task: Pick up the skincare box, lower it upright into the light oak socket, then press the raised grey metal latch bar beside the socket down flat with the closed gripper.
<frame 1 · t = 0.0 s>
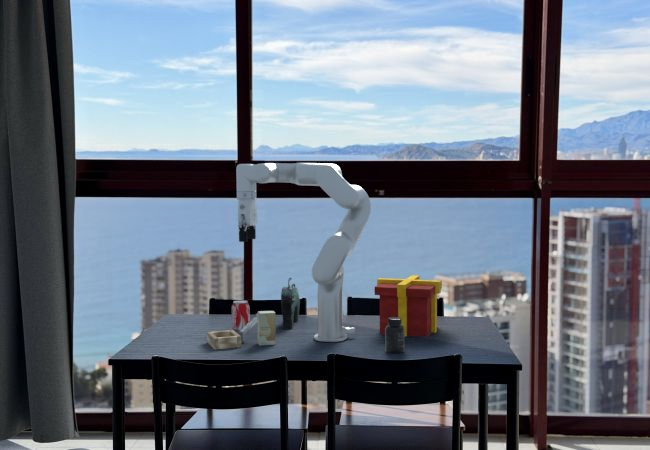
hand: (247, 240, 332), 37 cm above the table, tool pointing down, fingers open, 9 cm apart
skincare box: (266, 344, 320), on the table
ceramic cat: (290, 325, 354), on the table
supplement bottle: (394, 352, 306), on the table
gift box: (408, 331, 341), on the table
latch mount: (238, 341, 325), on the table
socket: (224, 344, 319), on the table
soda can: (241, 331, 343), on the table
latch bar: (250, 325, 326), point 6 cm above the table, hinge at 40.0°
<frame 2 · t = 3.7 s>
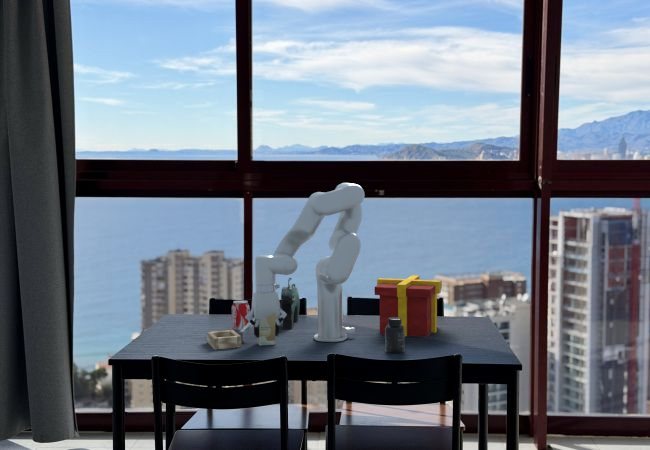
hand: (266, 335, 319), 3 cm above the table, tool pointing down, fingers closed on skincare box, 6 cm apart
skincare box: (266, 344, 320), on the table, touching gripper
everything else where it was.
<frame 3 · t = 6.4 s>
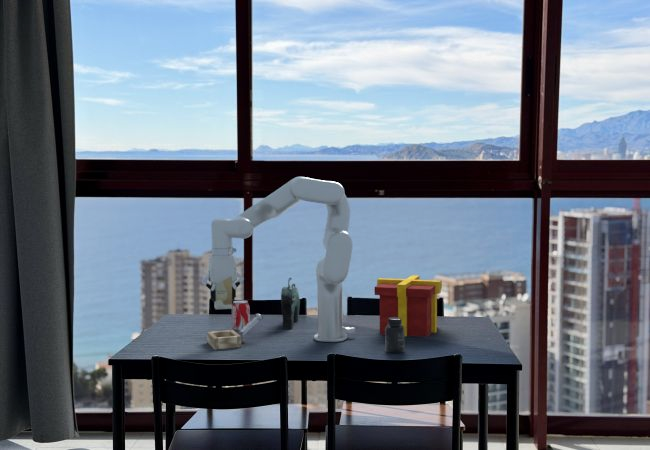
hand: (223, 299, 318), 17 cm above the table, tool pointing down, fingers closed on skincare box, 6 cm apart
skincare box: (223, 308, 318), point 14 cm above the table, touching gripper
everything else where it was.
when the fingers open (5 cm above the table, at t = 9.3 s): skincare box drops 2 cm, resting in socket.
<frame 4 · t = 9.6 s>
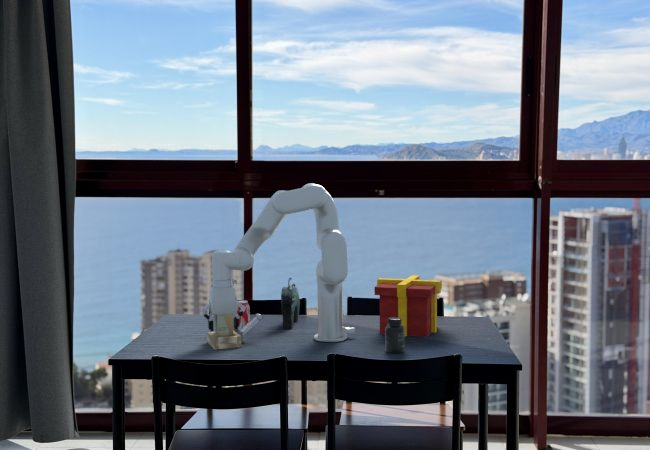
hand: (223, 329, 319), 6 cm above the table, tool pointing down, fingers open, 8 cm apart
skincare box: (224, 345, 319), resting in socket
everything else where it was.
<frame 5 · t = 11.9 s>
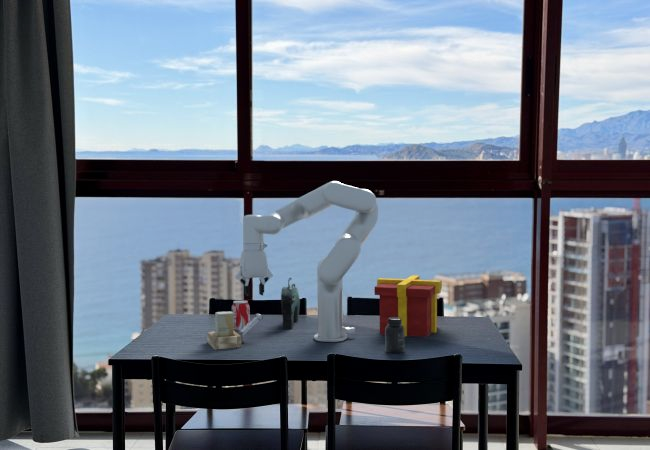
hand: (254, 294, 325), 17 cm above the table, tool pointing down, fingers open, 4 cm apart
nothing on the table moved.
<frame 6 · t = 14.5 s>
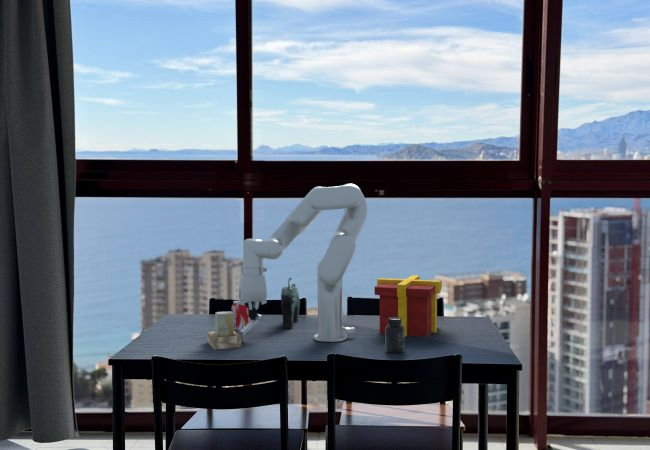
hand: (252, 319, 326), 8 cm above the table, tool pointing down, fingers closed
latch bar: (250, 325, 326), point 6 cm above the table, hinge at 38.7°, touching gripper
everything else where it was.
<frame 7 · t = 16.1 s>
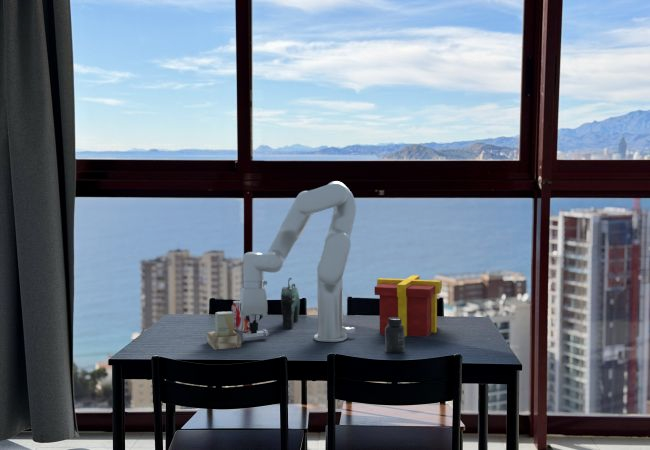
hand: (253, 332, 327), 3 cm above the table, tool pointing down, fingers closed
latch bar: (253, 334, 327), point 2 cm above the table, hinge at 2.4°, touching gripper
everything else where it was.
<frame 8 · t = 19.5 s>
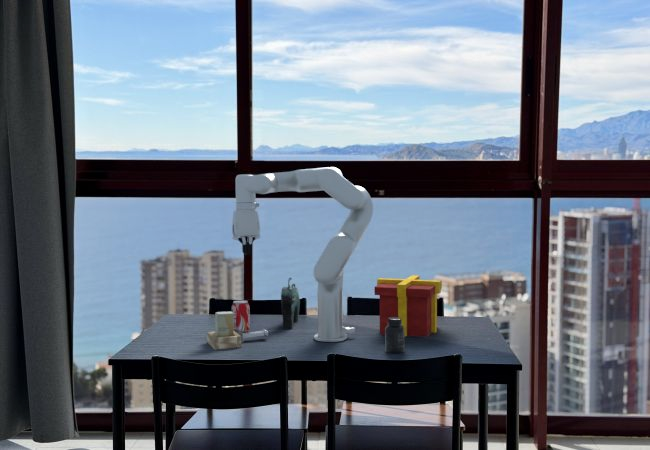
hand: (246, 254, 330), 32 cm above the table, tool pointing down, fingers closed
latch bar: (253, 334, 327), point 2 cm above the table, hinge at 2.3°
everything else where it was.
at the end: skincare box 0.3 cm off-centre on the socket, point 0.0 cm above the socket's base; skincare box tilted 0°; latch bar at +2° (first picture: +40°) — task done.
